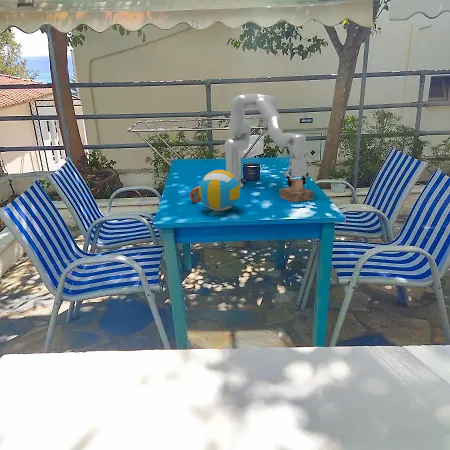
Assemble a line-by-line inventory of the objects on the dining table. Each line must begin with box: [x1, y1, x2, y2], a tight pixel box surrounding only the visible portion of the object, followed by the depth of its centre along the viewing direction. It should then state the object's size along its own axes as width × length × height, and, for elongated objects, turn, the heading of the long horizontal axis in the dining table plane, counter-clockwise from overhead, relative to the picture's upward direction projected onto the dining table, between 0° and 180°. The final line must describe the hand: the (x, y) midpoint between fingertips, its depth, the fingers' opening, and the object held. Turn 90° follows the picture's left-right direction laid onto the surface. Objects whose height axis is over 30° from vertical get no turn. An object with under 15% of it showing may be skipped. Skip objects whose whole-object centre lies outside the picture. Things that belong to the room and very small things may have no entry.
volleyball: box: [198, 169, 241, 212], centre depth 220 cm, size 22×22×22 cm
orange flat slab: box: [189, 185, 202, 204], centre depth 240 cm, size 15×3×8 cm, turn 148°
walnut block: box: [279, 186, 314, 203], centre depth 244 cm, size 14×14×5 cm
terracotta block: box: [290, 178, 304, 191], centre depth 242 cm, size 5×5×6 cm
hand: (296, 185), depth 242 cm, fingers open, 9 cm apart
